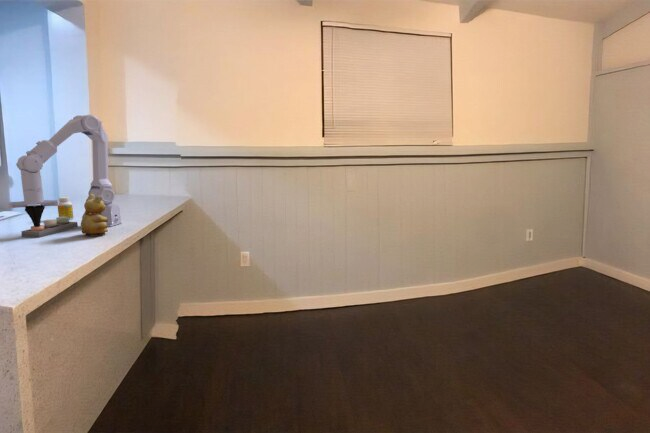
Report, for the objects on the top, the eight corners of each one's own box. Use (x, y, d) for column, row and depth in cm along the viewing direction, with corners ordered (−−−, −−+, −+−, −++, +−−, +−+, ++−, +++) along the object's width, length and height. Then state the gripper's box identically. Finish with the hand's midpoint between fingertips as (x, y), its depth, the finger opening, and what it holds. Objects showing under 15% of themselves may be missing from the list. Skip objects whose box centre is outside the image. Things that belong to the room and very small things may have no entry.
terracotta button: (47, 230, 147) (46, 225, 146) (38, 233, 143) (37, 227, 142) (37, 230, 147) (36, 225, 147) (28, 232, 143) (27, 227, 143)
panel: (77, 226, 160) (77, 221, 159) (39, 237, 142) (38, 232, 141) (62, 226, 161) (61, 221, 160) (22, 236, 142) (21, 231, 142)
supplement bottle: (66, 220, 172) (64, 198, 170) (56, 220, 173) (53, 198, 171) (76, 218, 177) (74, 196, 175) (66, 217, 178) (63, 196, 176)
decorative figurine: (113, 234, 147) (109, 194, 145) (92, 239, 140) (88, 196, 137) (95, 231, 151) (92, 192, 149) (74, 236, 144) (70, 195, 141)
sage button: (71, 221, 158) (70, 216, 158) (63, 223, 154) (63, 218, 154) (62, 221, 159) (61, 216, 158) (54, 223, 155) (53, 218, 154)
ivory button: (59, 224, 152) (59, 219, 152) (51, 226, 148) (50, 221, 148) (50, 224, 153) (49, 219, 152) (41, 226, 149) (41, 221, 149)
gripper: (58, 187, 149) (62, 222, 151) (10, 188, 143) (15, 225, 145) (55, 189, 142) (59, 226, 145) (5, 191, 136) (10, 229, 139)
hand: (37, 226), depth 145 cm, fingers closed, pressing on terracotta button
